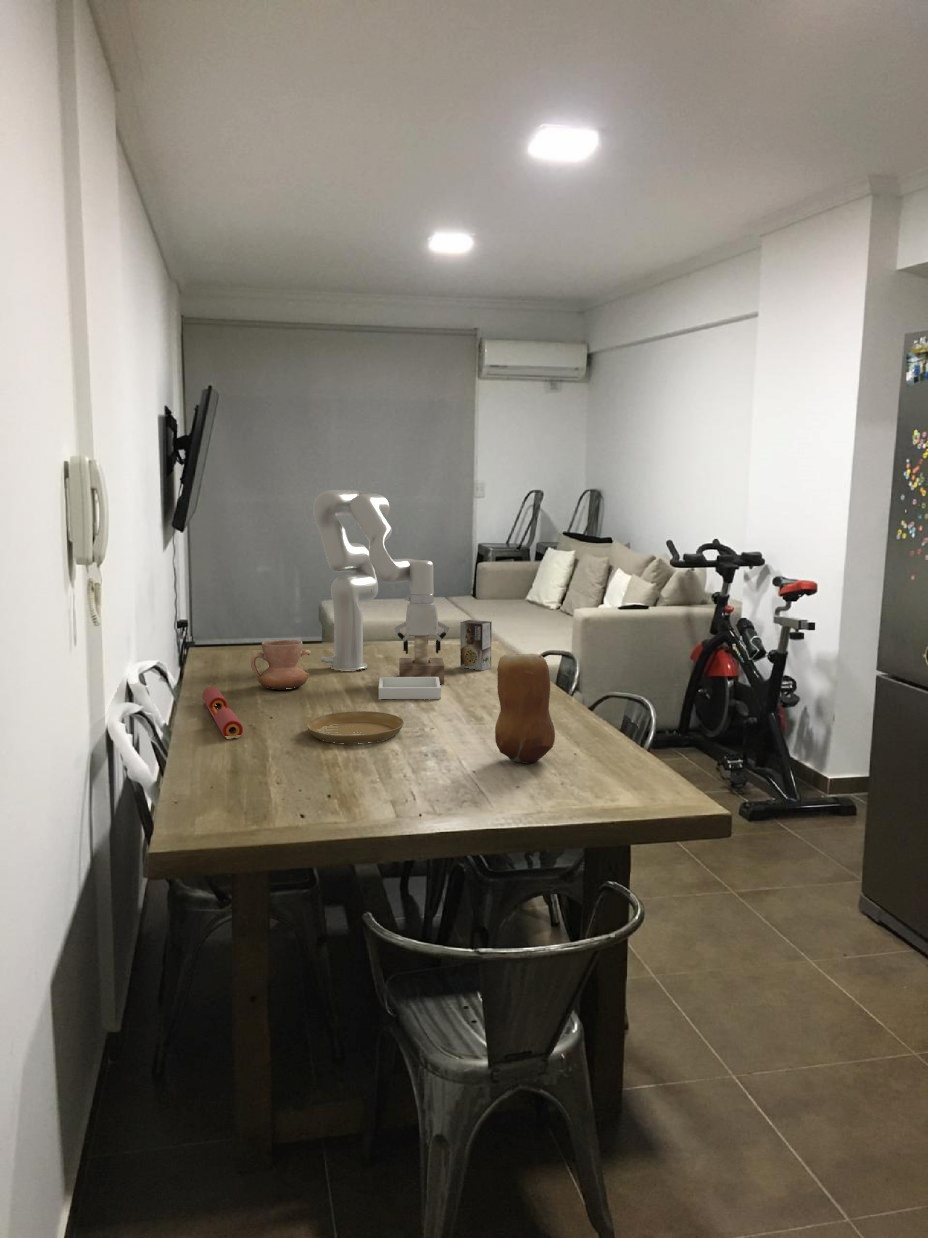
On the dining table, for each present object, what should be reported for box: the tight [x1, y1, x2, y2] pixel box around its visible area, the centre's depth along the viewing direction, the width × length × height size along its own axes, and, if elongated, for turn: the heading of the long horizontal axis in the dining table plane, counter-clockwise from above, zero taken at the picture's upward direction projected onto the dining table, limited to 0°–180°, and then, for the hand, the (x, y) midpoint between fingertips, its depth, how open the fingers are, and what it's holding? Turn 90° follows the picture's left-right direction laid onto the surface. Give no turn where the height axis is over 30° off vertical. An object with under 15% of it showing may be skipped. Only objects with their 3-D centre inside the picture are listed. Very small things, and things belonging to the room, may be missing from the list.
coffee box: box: [459, 619, 493, 671], centre depth 328 cm, size 9×6×16 cm
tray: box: [378, 676, 442, 701], centre depth 288 cm, size 18×16×4 cm
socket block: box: [398, 657, 445, 685], centre depth 308 cm, size 14×14×6 cm
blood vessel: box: [202, 686, 244, 738], centre depth 255 cm, size 42×5×5 cm, turn 21°
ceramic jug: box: [250, 639, 311, 690], centre depth 295 cm, size 18×14×14 cm
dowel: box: [413, 636, 429, 663], centre depth 307 cm, size 4×4×15 cm
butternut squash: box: [494, 652, 556, 765], centre depth 217 cm, size 14×13×25 cm
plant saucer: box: [306, 710, 405, 745], centre depth 242 cm, size 24×24×3 cm
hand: (422, 653), depth 307 cm, fingers open, 9 cm apart
